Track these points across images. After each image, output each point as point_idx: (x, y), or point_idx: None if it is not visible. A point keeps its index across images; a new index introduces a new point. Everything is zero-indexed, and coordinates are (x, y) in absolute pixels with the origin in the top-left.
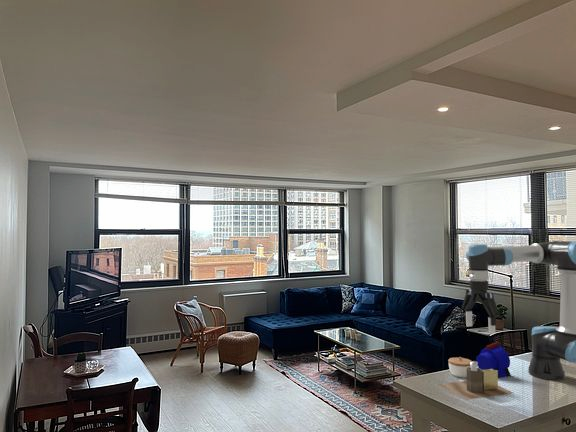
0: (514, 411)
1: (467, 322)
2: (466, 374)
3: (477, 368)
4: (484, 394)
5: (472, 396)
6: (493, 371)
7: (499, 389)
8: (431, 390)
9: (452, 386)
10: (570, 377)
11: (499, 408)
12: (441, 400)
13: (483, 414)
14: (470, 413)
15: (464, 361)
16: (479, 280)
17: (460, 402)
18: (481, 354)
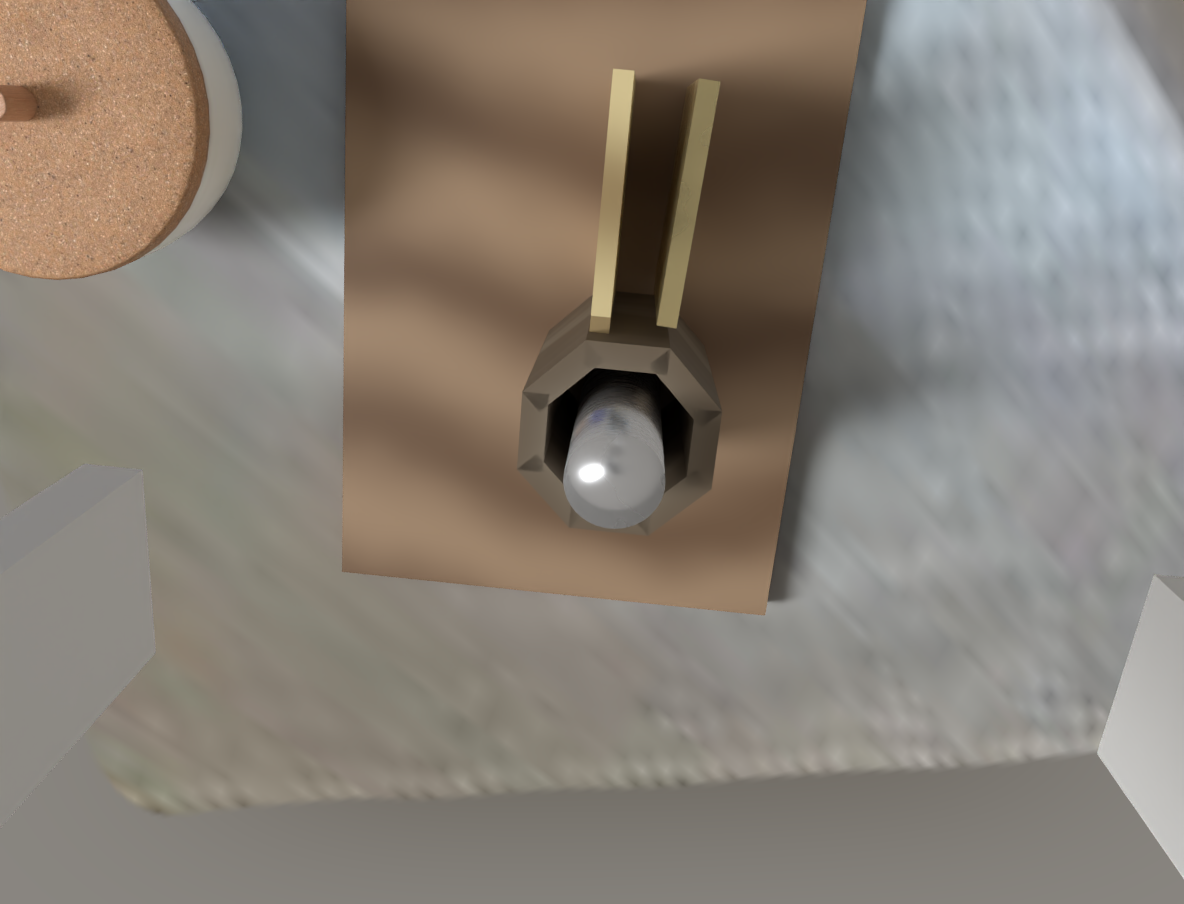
0: (1122, 367)
1: (82, 726)
2: (241, 135)
3: (658, 434)
4: (749, 362)
5: (737, 514)
6: (704, 157)
7: (709, 69)
8: (409, 678)
9: (444, 494)
10: None
11: (1003, 439)
12: (636, 754)
13: (1015, 662)
14: (947, 736)
15: (83, 86)
16: None
17: (739, 647)
18: None
